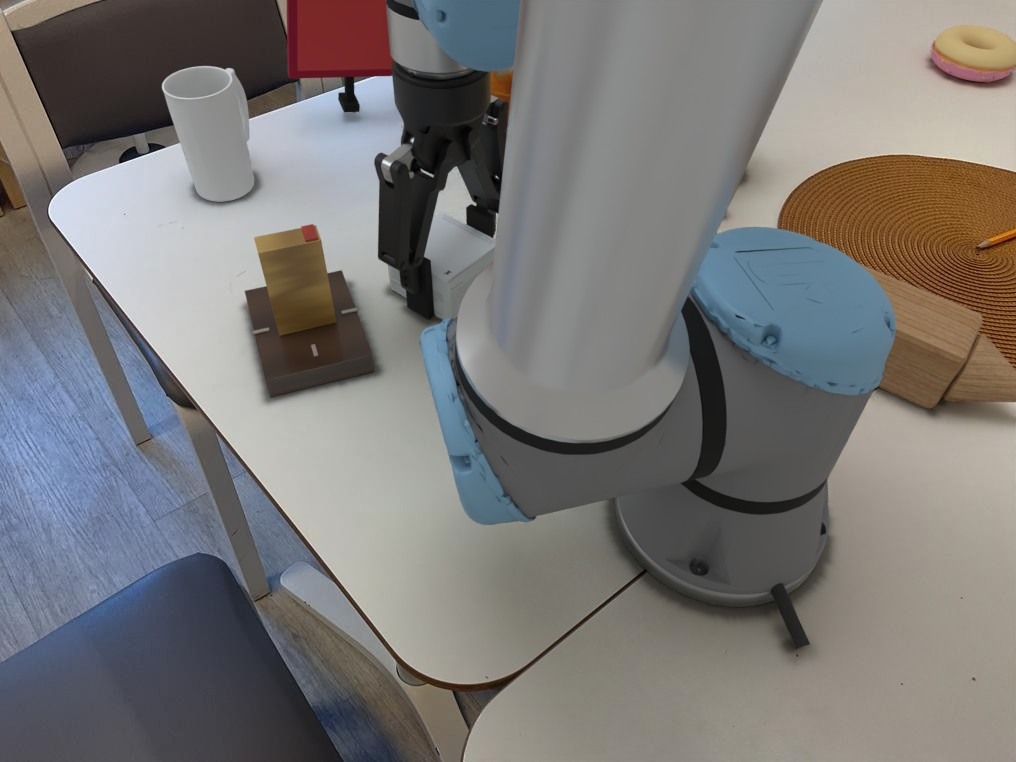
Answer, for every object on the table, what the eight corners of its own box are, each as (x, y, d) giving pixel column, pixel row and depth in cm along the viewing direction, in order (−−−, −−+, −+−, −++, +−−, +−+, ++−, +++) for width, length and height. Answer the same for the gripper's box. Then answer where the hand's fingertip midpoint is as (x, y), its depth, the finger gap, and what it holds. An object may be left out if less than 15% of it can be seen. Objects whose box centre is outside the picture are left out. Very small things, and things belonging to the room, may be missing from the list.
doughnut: (927, 42, 107) (915, 72, 110) (1016, 66, 103) (1001, 97, 106) (949, 13, 114) (937, 42, 117) (1034, 35, 110) (1019, 65, 113)
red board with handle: (517, 93, 109) (542, -22, 98) (525, 105, 107) (551, -11, 96) (287, 101, 98) (285, -27, 87) (292, 114, 96) (290, -15, 85)
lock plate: (375, 371, 71) (373, 353, 70) (268, 397, 69) (263, 380, 68) (345, 285, 79) (342, 268, 78) (248, 307, 77) (243, 289, 75)
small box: (503, 284, 80) (504, 241, 76) (447, 326, 75) (446, 283, 72) (443, 250, 83) (441, 208, 79) (387, 289, 79) (382, 246, 75)
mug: (235, 209, 87) (206, 104, 78) (181, 196, 89) (147, 91, 80) (284, 160, 94) (262, 58, 85) (232, 149, 95) (206, 47, 86)
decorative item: (782, 345, 74) (1014, 453, 67) (805, 289, 69) (1059, 399, 62) (808, 305, 77) (1031, 403, 70) (833, 249, 72) (1074, 349, 65)
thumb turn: (279, 336, 71) (257, 250, 65) (275, 319, 73) (253, 234, 66) (336, 322, 73) (320, 237, 66) (331, 307, 74) (315, 222, 67)
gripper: (378, 129, 55) (404, 366, 72) (562, 25, 66) (548, 251, 83) (302, 93, 58) (344, 328, 75) (490, -1, 69) (490, 222, 86)
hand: (451, 288), depth 79 cm, fingers closed on small box, 8 cm apart
